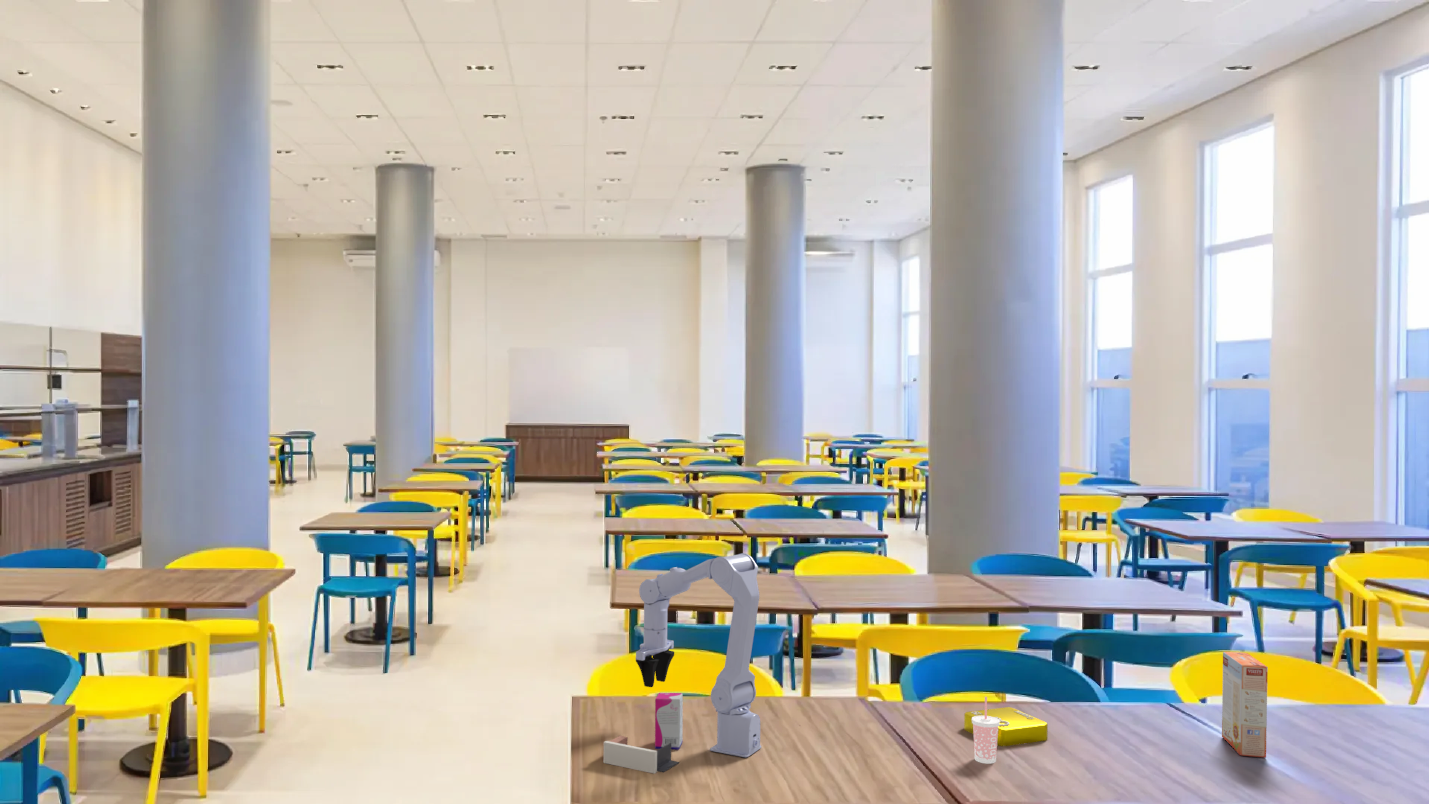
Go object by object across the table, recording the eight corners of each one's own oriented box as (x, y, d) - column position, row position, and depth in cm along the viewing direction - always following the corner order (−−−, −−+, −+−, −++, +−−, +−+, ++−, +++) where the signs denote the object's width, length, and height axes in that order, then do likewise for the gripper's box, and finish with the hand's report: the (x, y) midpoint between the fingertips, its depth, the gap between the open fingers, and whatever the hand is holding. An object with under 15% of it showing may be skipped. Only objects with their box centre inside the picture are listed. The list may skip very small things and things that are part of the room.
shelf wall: (656, 772, 212) (657, 750, 212) (654, 773, 211) (654, 752, 211) (606, 761, 218) (606, 740, 218) (603, 762, 217) (603, 742, 217)
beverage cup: (980, 765, 218) (980, 701, 218) (966, 756, 224) (966, 694, 224) (1005, 763, 220) (1005, 700, 220) (990, 754, 226) (990, 692, 226)
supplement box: (682, 741, 232) (683, 692, 232) (679, 750, 226) (680, 699, 226) (658, 740, 232) (658, 691, 232) (654, 749, 226) (654, 698, 226)
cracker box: (1268, 758, 225) (1268, 666, 225) (1239, 756, 226) (1240, 664, 226) (1248, 739, 239) (1248, 651, 239) (1221, 737, 240) (1221, 650, 240)
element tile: (1051, 741, 236) (1051, 721, 236) (999, 749, 231) (999, 728, 231) (1010, 723, 250) (1010, 704, 250) (960, 729, 245) (960, 710, 245)
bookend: (678, 763, 217) (679, 744, 217) (663, 772, 211) (663, 753, 212) (669, 761, 218) (669, 743, 218) (654, 770, 213) (654, 751, 213)
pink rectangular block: (627, 752, 223) (627, 737, 224) (611, 761, 218) (611, 745, 218) (619, 751, 224) (620, 735, 224) (603, 759, 219) (603, 744, 219)
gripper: (656, 620, 251) (656, 674, 251) (625, 631, 238) (624, 688, 238) (681, 623, 248) (680, 678, 247) (650, 635, 235) (649, 692, 235)
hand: (654, 683), depth 242 cm, fingers open, 5 cm apart
